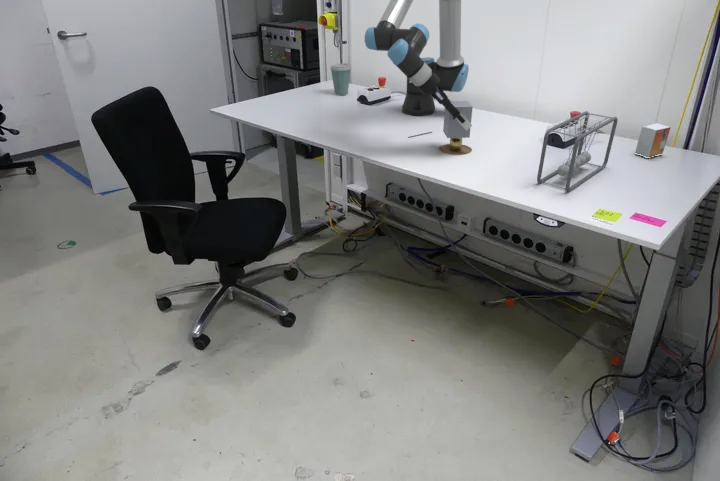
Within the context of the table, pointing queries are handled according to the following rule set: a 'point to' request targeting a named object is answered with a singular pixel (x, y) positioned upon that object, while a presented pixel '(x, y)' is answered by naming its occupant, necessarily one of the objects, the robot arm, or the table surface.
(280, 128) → the table surface
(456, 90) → the robot arm
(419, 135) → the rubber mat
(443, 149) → the walnut coaster
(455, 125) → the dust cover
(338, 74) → the disposable coffee cup
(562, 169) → the newton's cradle
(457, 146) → the brass weight
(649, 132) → the small box
